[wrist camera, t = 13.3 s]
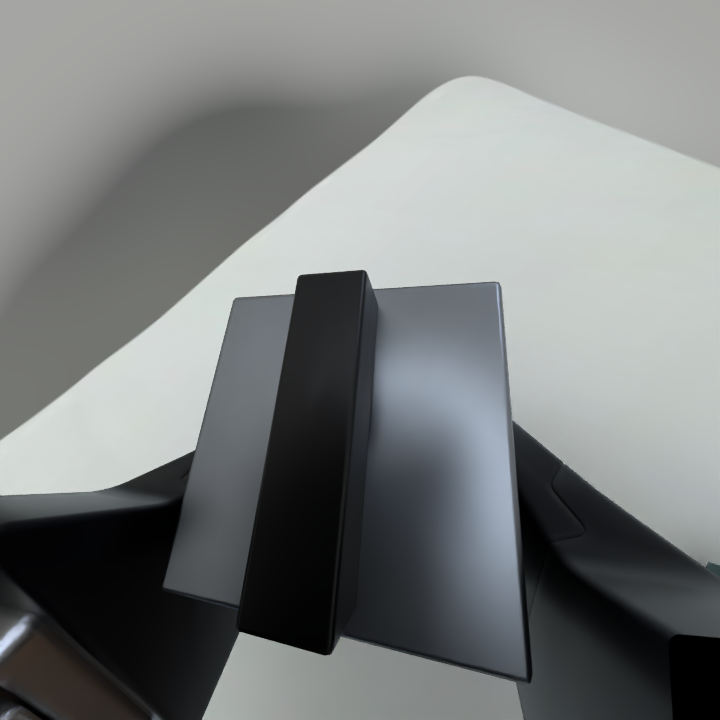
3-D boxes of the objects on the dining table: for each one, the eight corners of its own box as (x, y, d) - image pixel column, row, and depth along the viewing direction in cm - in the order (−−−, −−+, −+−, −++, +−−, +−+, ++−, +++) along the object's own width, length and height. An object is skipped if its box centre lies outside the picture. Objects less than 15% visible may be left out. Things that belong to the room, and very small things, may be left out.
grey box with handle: (464, 519, 13) (669, 915, 2) (353, 504, 15) (39, 664, 3) (461, 404, 15) (553, 201, 3) (361, 400, 16) (181, 247, 5)
